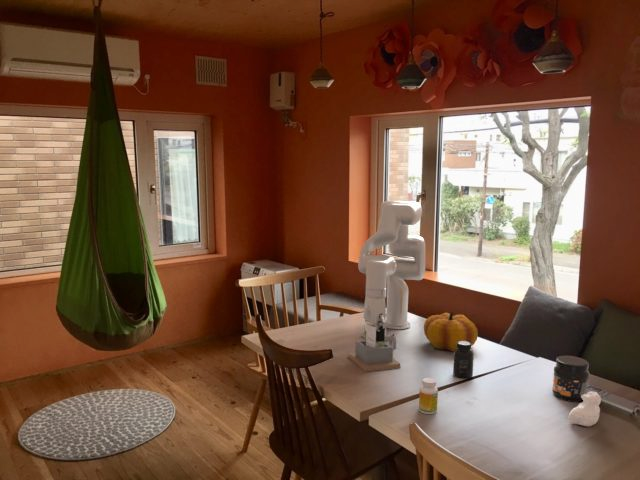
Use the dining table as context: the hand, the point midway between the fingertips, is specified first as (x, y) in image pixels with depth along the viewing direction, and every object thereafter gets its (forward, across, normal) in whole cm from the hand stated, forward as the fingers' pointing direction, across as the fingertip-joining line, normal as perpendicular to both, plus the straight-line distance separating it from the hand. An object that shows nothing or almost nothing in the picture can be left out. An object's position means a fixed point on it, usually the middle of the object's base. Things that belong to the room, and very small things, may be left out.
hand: (374, 337), depth 206 cm
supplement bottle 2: (+10, +21, +25) cm, 34 cm away
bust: (+10, +63, +39) cm, 75 cm away
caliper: (+10, -20, +11) cm, 25 cm away
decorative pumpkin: (+10, -7, +37) cm, 39 cm away
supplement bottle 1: (+10, +42, -1) cm, 43 cm away
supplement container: (+10, +46, +49) cm, 68 cm away
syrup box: (+8, +1, 0) cm, 8 cm away
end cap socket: (+10, 0, 0) cm, 10 cm away
